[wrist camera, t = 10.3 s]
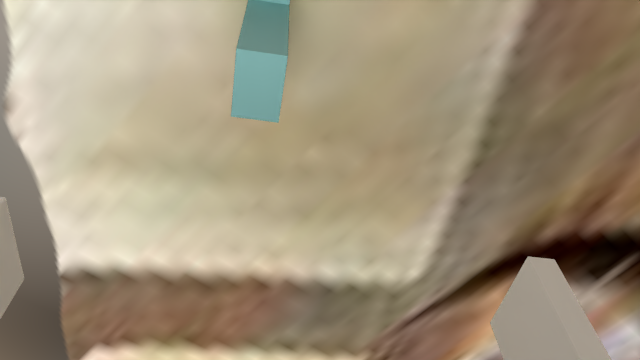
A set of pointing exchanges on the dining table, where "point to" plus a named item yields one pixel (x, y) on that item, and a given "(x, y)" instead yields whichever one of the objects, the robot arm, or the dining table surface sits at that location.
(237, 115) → the mailer tray
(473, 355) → the dining table surface
